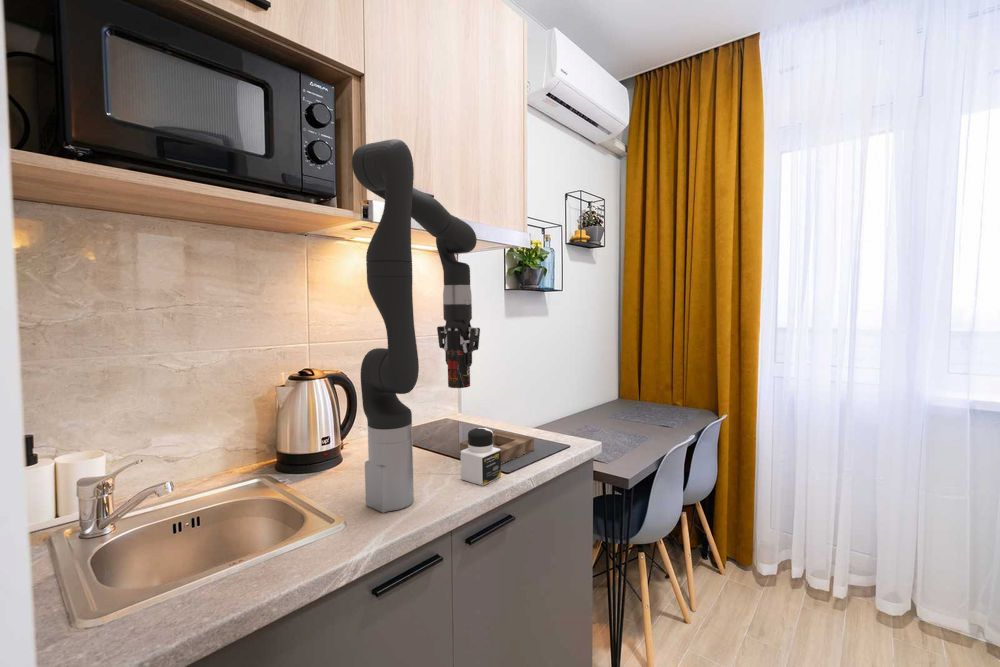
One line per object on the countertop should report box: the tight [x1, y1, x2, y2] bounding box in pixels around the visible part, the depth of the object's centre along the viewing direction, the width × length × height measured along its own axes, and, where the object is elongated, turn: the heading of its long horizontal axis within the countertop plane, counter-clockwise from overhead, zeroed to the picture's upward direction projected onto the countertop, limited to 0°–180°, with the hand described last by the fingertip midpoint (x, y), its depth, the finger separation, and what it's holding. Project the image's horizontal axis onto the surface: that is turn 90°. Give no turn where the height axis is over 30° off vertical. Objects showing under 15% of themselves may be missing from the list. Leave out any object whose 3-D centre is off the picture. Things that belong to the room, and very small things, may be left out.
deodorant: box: [447, 330, 471, 389], centre depth 126 cm, size 6×6×15 cm
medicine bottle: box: [460, 427, 502, 486], centre depth 114 cm, size 7×7×12 cm
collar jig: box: [459, 429, 535, 463], centre depth 133 cm, size 16×14×4 cm
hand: (458, 365), depth 126 cm, fingers closed on deodorant, 6 cm apart
